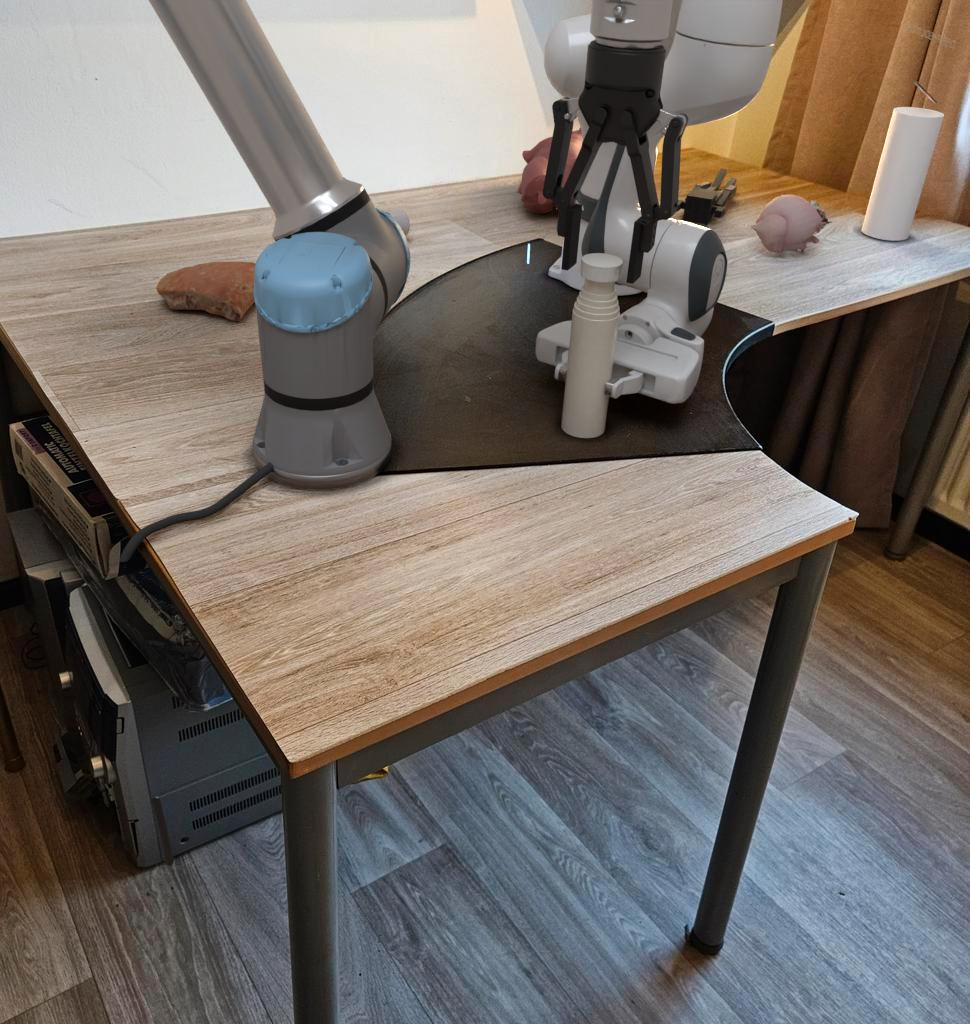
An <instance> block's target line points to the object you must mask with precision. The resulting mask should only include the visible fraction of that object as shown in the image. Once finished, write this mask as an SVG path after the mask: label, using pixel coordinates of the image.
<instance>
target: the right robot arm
mask: <svg viewBox="0 0 970 1024" xmlns="http://www.w3.org/2000/svg"><path fill="white" fill-rule="evenodd" d="M783 2H784V0H673V2H672V10H671V18H670V26H669V34H668V38H667V39H666V40H664V41H662V42H661V45H662V46H664V49H665V50H666V55H665V62H664V70H663V77H662V84H661V91H660V97H661V101H662V104H663V108H664V109H666V110H668V111H671V112H673V113H675V114H678V115H679V114H681V113H685V114H686V115H687V116H688V123H687V126H686V128H687V127H691V126H697V125H702V124H707V123H712V122H716V121H720V120H723V119H726V118H728V117H730V116H733V115H735V114H736V113H739V112H740V111H742V110H743V109H745V108H746V107H747V106H748V105H749V104H750V103H752V102H753V100H755V99H756V97H757V96H758V95H759V93H760V91H761V90H762V87H763V86H764V83H765V81H766V78H767V75H768V72H769V68H770V65H771V62H772V57H773V54H774V49H775V45H776V40H777V36H778V31H779V27H780V21H781V15H782V8H783ZM590 21H591V13H587V14H583V15H577V16H572V17H568V18H564V19H561V20H559V21H558V22H557V23H556V24H555V25H554V26H553V28H552V29H551V31H550V32H549V34H548V37H547V38H546V42H545V45H544V50H543V67H544V71H545V75H546V78H547V79H548V81H549V84H550V85H551V86H552V87H553V89H554V90H555V91H556V92H557V93H558V94H559V95H561V97H562V98H564V97H568V98H570V99H572V98H579V96H580V95H581V93H582V91H583V89H584V86H585V71H586V61H587V50H588V45H589V44H590V42H591V41H593V40H595V37H594V36H593V35H592V34H591V33H590ZM576 119H577V121H578V124H579V128H581V132H582V138H583V140H584V138H585V135H586V133H587V131H588V129H589V126H588V124H587V122H586V120H585V118H584V116H583V114H582V112H581V110H580V109H579V111H578V116H577V118H576ZM647 136H648V141H649V155H650V160H651V165H652V171H653V176H654V177H655V173H656V166H657V159H658V146H659V143H660V142H661V141H662V140H663V139H664V137H665V136H664V135H663V134H662V133H661V124H660V122H659V121H658V120H657V121H656V122H655V123H654V124H653V126H652V127H651V128H650V129H649V130H648V131H647ZM577 197H578V199H577V200H576V204H581V205H582V213H581V223H580V233H579V243H578V253H577V263H576V264H575V265H574V266H573V267H571V268H570V269H569V270H568V271H567V270H562V269H561V267H562V256H563V245H564V237H562V248H561V255H560V256H559V257H558V258H557V260H556V261H554V263H553V264H552V265H551V266H550V267H549V269H548V273H547V275H548V276H549V277H550V278H552V279H555V280H559V281H560V282H563V283H564V284H566V285H567V286H569V287H571V288H573V289H575V290H579V291H581V290H582V286H583V285H584V283H585V278H583V277H582V276H581V275H580V265H581V260H582V257H583V256H584V255H587V254H592V253H604V254H610V255H614V256H617V257H619V258H621V259H622V261H623V270H622V276H621V278H620V279H619V280H618V281H615V286H614V288H615V289H616V294H617V297H618V296H630V295H636V294H640V293H642V292H644V293H647V294H646V297H645V298H644V299H643V300H641V301H640V302H639V303H638V304H635V305H633V306H632V307H630V308H629V309H626V310H625V311H624V312H622V313H620V318H619V326H618V333H617V341H616V349H615V356H614V364H613V372H612V378H611V379H610V380H608V381H607V382H606V384H605V389H606V390H605V391H604V395H606V396H609V398H612V399H618V398H620V396H625V395H631V394H640V395H643V396H646V397H649V398H652V399H656V400H659V401H662V402H665V403H667V404H671V405H678V404H683V403H684V402H686V401H687V400H688V399H689V398H690V397H691V395H692V394H693V392H694V390H695V387H696V386H697V384H698V381H699V378H700V374H701V370H702V365H703V360H704V359H703V358H704V350H705V339H703V338H702V336H703V335H704V333H705V332H706V330H707V329H708V327H709V325H710V323H711V321H712V318H713V316H714V309H715V306H716V304H718V301H719V299H720V297H721V294H722V291H723V288H724V286H725V282H726V276H727V272H728V257H727V252H726V250H725V247H724V244H723V242H722V239H721V238H720V236H719V235H718V233H717V231H715V229H712V228H708V227H705V226H702V225H700V224H696V223H693V222H687V221H683V220H681V219H674V218H672V217H671V218H669V219H668V220H659V221H658V223H657V229H656V236H655V243H654V246H653V248H652V249H651V250H650V251H649V252H648V253H645V252H644V256H643V263H642V270H641V276H640V277H639V278H638V279H637V280H636V281H635V282H634V283H633V284H631V283H626V281H627V273H628V266H629V258H630V251H631V243H632V235H633V228H634V222H635V221H636V220H637V219H639V218H640V217H641V216H642V215H641V210H640V205H639V200H638V195H637V190H636V185H635V180H634V175H633V170H632V165H631V160H630V157H629V156H628V153H627V149H626V146H622V145H619V144H617V143H614V142H608V143H602V145H601V146H600V148H599V150H598V152H597V155H596V157H595V159H594V161H593V163H592V165H591V168H590V170H589V172H588V174H587V176H586V179H585V181H584V183H583V185H582V187H581V189H580V192H579V194H578V196H577ZM530 251H531V244H530V243H527V257H526V264H527V265H528V264H529V265H530V253H531V252H530ZM571 322H572V320H565V321H561V322H558V323H555V324H553V325H551V326H548V327H546V328H543V329H541V330H540V331H539V332H538V333H537V336H536V338H535V339H536V340H535V356H536V359H537V361H538V362H541V363H544V364H547V365H549V366H553V367H555V368H554V379H555V380H557V381H562V382H563V383H565V381H566V371H567V361H568V352H569V342H570V332H571Z"/></svg>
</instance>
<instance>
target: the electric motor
mask: <svg viewBox="0 0 970 1024" xmlns="http://www.w3.org/2000/svg"><path fill="white" fill-rule="evenodd" d="M385 212H386V213H387V214H389V215H390V216H391V217H392V218H393V219H394V220H395V221H396V222H397V223H398V225H399V226H400V227H401V229H402V231H403V232H404V234H405V236H407V235H409V233H410V229H411V222H410V218H409V216H408V213H407V212H406V210H404V209H403V208H397V209H392V210H387V211H385Z"/></svg>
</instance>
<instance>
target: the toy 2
mask: <svg viewBox="0 0 970 1024" xmlns="http://www.w3.org/2000/svg"><path fill="white" fill-rule="evenodd" d="M820 207H821V206H820V203H817V202H816V201H815V200H813V199H811V200H810V201H808V200H807V199H806V198H804V197H801V196H798V195H796V194H789V193H788V194H781V195H778V196H777V197H774V198H773V199H771V200H770V201H769V202H768V203H767V204H765V206H763V209H762V210H761V212H760V213H759V215H758V217H756V220H755V224H751V225H750V226H751V229H752V230H754V231H755V233H756V234H757V235H756V236H758V238H759V240H760V242H761V244H762V246H763V247H764V248H765V250H766V251H768V252H770V253H775V254H777V255H779V254H782V253H784V252H796V253H798V252H799V251H798V250H800V252H803V251H805V250H806V249H807V245H808V244H809V243H812V244H818V243H819V241H820V239H819V238H818V237H816V236H815V235H817V234H819V233H820V232H821V230H823V229H825V227H826V226H827V225H830V224H831V223H832V221H831V220H830V221H829V219H828V218H827V213H826V211H825V210H826V209H821V208H820Z"/></svg>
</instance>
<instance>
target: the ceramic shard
mask: <svg viewBox="0 0 970 1024" xmlns="http://www.w3.org/2000/svg"><path fill="white" fill-rule="evenodd" d="M255 264H256V262H252V261H210V262H206V263H205V262H204V263H199V264H195V265H192V266H186V267H185V266H184V267H183V268H179V269H177V270H174V271H171V272H168V273H166V274H165V276H163V277H162V278H161V279H159V281H158V283H157V285H156V288H155V289H156V292H157V294H159V295H160V296H161V297H162V298H163V299H164V300H165V302H166V304H167V305H168V307H169V309H172V310H190V311H191V310H195V311H196V310H201V311H206V312H207V313H210V314H211V315H218V316H222V317H225V319H228V320H230V321H234V322H236V321H237V322H238V321H241V319H242V318H243V317H244V316H245V314H246V313H247V312H248V310H249V309H250V308H251V306H252V305H253V304H254V303H255V301H254V296H253V290H254V281H255V278H254V269H255Z"/></svg>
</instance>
